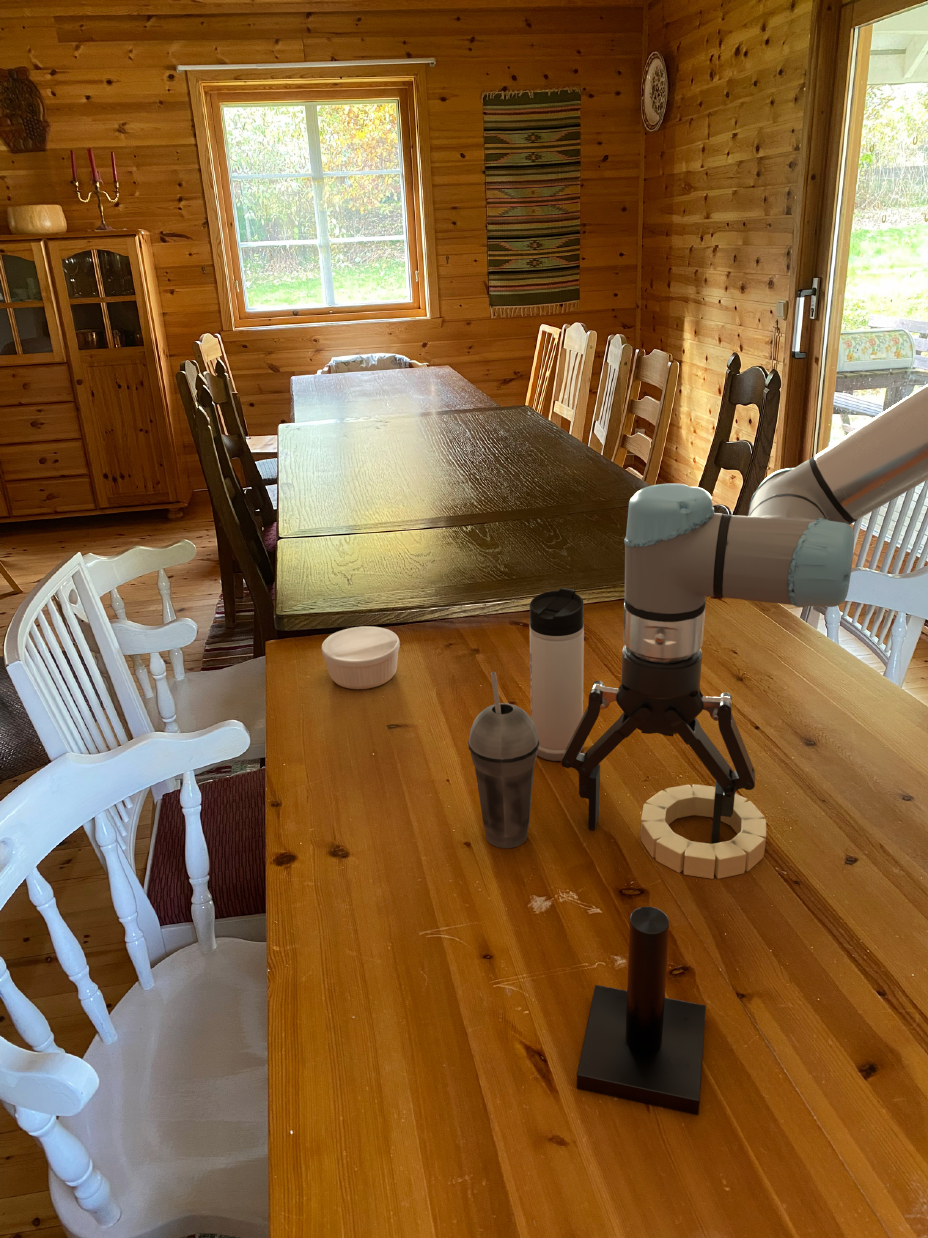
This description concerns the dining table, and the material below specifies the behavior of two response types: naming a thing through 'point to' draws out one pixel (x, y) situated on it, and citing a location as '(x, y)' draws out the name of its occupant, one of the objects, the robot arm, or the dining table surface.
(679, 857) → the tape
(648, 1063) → the stand
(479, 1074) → the dining table surface
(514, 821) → the beverage cup
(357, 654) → the ramekin
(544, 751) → the travel mug
